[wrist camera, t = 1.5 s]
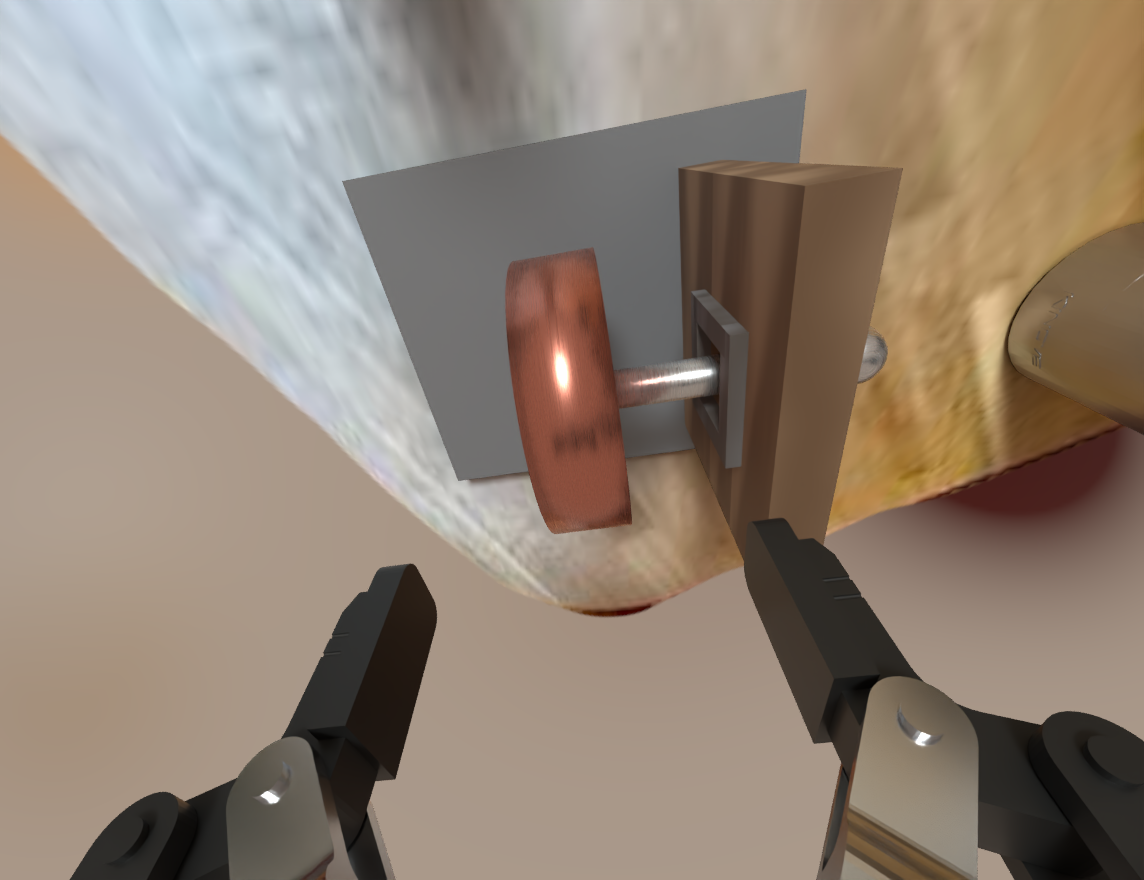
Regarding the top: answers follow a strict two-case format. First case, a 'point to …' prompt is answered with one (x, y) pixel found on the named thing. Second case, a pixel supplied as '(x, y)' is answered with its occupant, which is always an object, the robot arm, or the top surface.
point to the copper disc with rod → (589, 389)
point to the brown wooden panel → (779, 326)
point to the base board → (543, 227)
